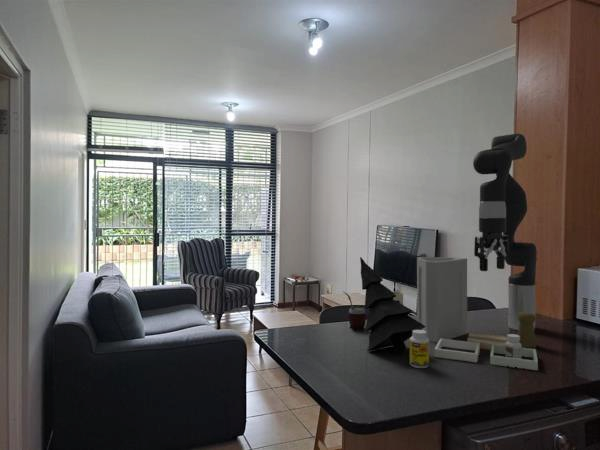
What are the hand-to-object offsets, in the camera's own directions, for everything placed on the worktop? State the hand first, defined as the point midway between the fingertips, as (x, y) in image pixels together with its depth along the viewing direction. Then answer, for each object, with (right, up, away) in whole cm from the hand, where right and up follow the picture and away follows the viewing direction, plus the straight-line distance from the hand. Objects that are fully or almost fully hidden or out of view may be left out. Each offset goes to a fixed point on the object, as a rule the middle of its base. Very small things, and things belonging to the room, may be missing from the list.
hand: (492, 269), depth 132 cm
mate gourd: (-37, -27, +37) cm, 59 cm away
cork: (+18, -27, +15) cm, 36 cm away
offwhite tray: (-8, -28, +7) cm, 29 cm away
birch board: (+5, -27, +16) cm, 32 cm away
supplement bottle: (-23, -28, -4) cm, 37 cm away
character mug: (-21, -27, +43) cm, 55 cm away
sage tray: (+6, -28, 0) cm, 28 cm away
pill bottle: (+6, -28, 0) cm, 28 cm away
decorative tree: (-31, -28, +13) cm, 43 cm away
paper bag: (-8, -27, +30) cm, 41 cm away
